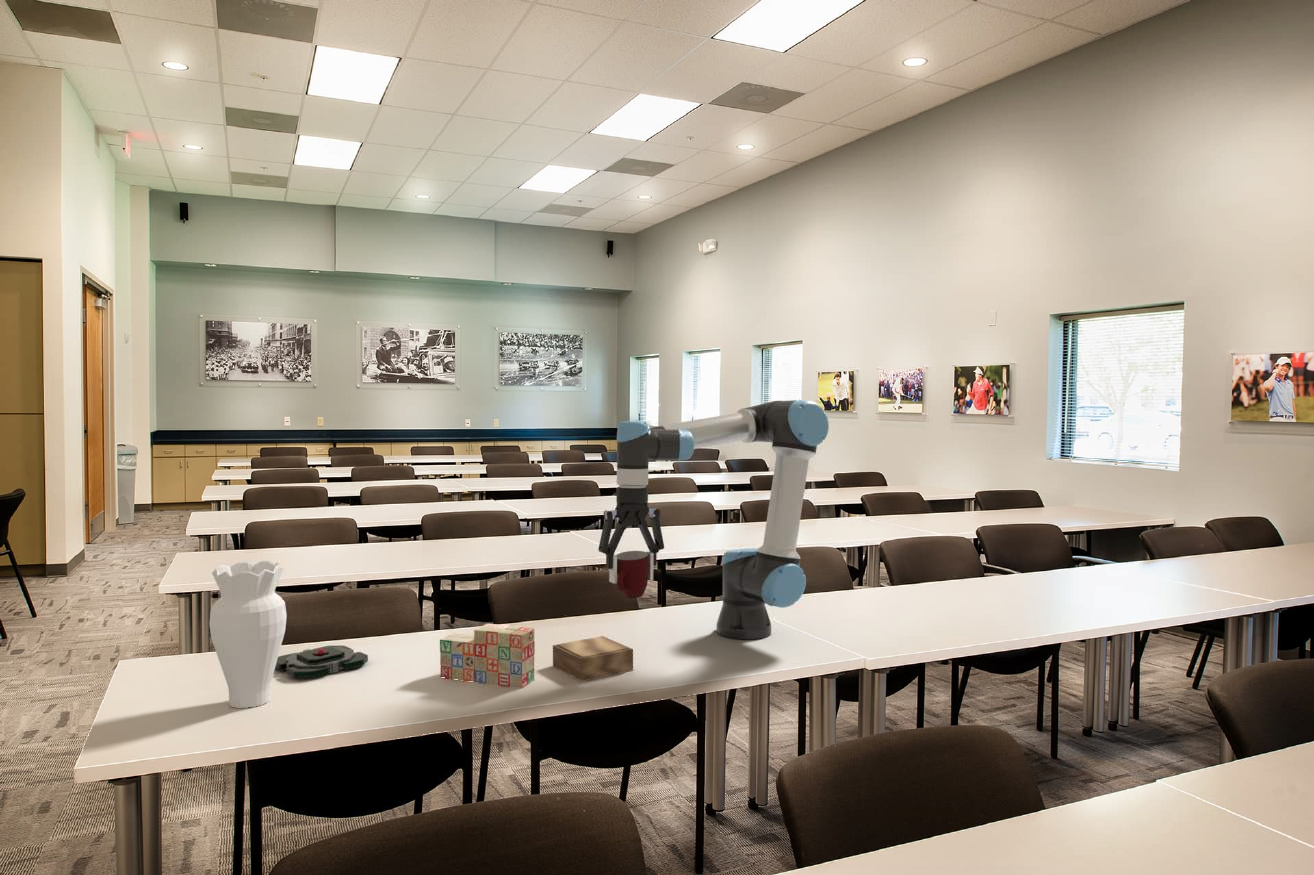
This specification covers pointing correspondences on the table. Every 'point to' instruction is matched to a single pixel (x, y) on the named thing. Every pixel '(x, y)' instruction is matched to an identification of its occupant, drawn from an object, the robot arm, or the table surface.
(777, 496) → the robot arm
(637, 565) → the mug
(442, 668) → the stack of blocks
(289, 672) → the four-lobed dark green device
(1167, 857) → the table surface
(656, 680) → the table surface
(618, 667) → the walnut block
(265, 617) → the vase
